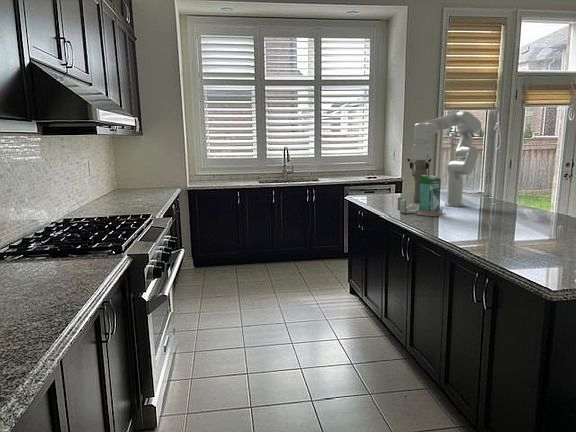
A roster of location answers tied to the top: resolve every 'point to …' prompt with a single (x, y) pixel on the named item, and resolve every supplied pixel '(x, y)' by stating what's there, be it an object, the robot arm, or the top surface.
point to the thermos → (418, 177)
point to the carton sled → (417, 211)
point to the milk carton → (429, 193)
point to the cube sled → (408, 206)
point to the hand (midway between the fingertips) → (418, 168)
